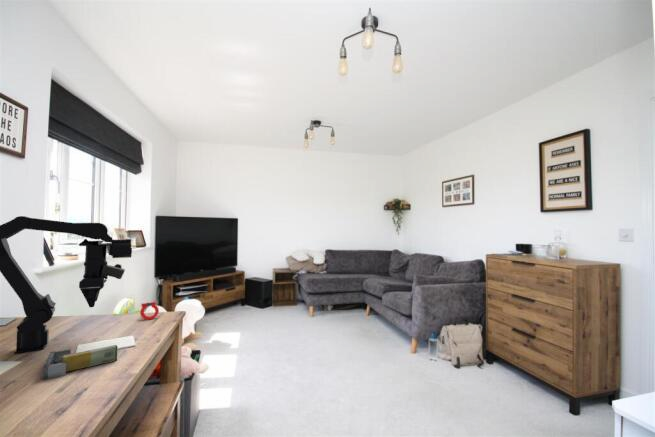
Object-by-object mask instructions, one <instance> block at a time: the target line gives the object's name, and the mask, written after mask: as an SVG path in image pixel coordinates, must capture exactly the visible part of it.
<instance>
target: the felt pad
mask: <svg viewBox="0 0 655 437" xmlns="http://www.w3.org/2000/svg"><path fill="white" fill-rule="evenodd" d="M113 345H117V347H118V348H117V350H123V349H127V348H132V347H136V341H135V336H134V335H128V336H123V337H116V338H111V339H105V340H100V341H93V342H88V343H81V344H78V345H77V348H76V351H75V353H78V352H83V351H88V350H93V349H98V348H103V347H108V346H113Z"/></svg>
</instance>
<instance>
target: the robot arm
mask: <svg viewBox="0 0 655 437" xmlns="http://www.w3.org/2000/svg"><path fill="white" fill-rule="evenodd" d="M23 230H33V231H42V232H52V233H53V232H54V233H61V234H62V233H63V234H72V235H76V236H79V237H83V238H84V239H83V240H82V242H80V243H78V246H79V247H85V254H84V255H85V258H84V262H83V266H84V271H83V279H81V280H80V281H79V282H78V288H79V290H80V292H81V293H82V295H83V297H84V299H85V301H86V303H87V305H88V307H89V308H94V307H95V304H96V302H97V301H98V298H99V295H100V291H101V290H102V289H103V288H104V287H105V283H106V282H107V280H108V278H109V277H111V278H115V279H118V280H121V279H122V277H123V275H124V273H125V271H126V269H125V268H122V264H119V263H116V264H115V265H109V264H108V261H107V248H108V256H111V257H112V259H123V258H124V259H127V258H132V256H133V255H132V252H133V248H132V238H123V239H113V237H112V236H110V235H109V234H108V227H107V226H106V225H105V224H104V223H101V222H75V223H74V222H69V221H67V222H66V221H60V220H59V221H58V220H52V219H51V220H50V219H43V218H35V217H28V216H22V215H19V216H16V217H15V218H13V219H11V220H9V221H7V222H5V223H3V224H0V273H1V275H2V276H3V277H4V280H6V281H7V283H8V284H9V285H10V287H11V288H12V289H13V291H14V293H15V294H16V295H17V296H18V298H19V300H20V301H21V303H22V308H23V311H24V314H25V317H24V318H23V319H22V320H21V321H20V322H19V324H18V325H17V326H16V342H15V344H16V345H15V346H16V347H15V350H14V352H13V353H14V354H20V353H27V352H32V351H38V350H43V349H45V348H46V346H47V345H48V344H49V341H50V340H49V339H50V329H49V328H48V325H47V324H46V323H48V322H49V321H50V320H51V319H52V318H53V315H54V313H55V312H56V308H55V307H56V306H55V305H56V304H57V303H56V302H54V301H53V300H52V297H51V296H50V294H49V293H47V294H46V295H42V294H40V293H39V292H38V290H37V289H36V287H35V286H34V285H33V284H32V282H31V281H30V279H29V278H28V276H27V274H25V271H23V269H22V268H21V266H20V265H19V264H18V262H17V261H16V259H15V258H14V256H13V255H12V252H11V248H10V244H9V242H8V239H9V238H12V237H14V236H15V235H17V234H19V233H20V232H22V231H23ZM87 238H88V239H92V240H88V239H87ZM99 240H101V241H103V242H105V243H99V242H100V241H99ZM107 246H108V247H107Z"/></svg>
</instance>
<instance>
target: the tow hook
mask: <svg viewBox="0 0 655 437" xmlns="http://www.w3.org/2000/svg"><path fill="white" fill-rule="evenodd" d="M156 304H157V302H156V301H152V302H151V301H149V302H143V303H141V306H140V307H141V309H140V312H139V314H140V316H141V318H142V319H144V320H147V321H149V320H154V319H155V318H157V316H158V314H159V312H160V311H159V310H160V309H159V307H158V305H156ZM149 307H151V308H152V309H154V311H155V312H154V314H153V315H151V316H147V315H146V314H145V312H146V311H147V309H148V308H149Z"/></svg>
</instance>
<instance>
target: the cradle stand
mask: <svg viewBox="0 0 655 437" xmlns="http://www.w3.org/2000/svg"><path fill="white" fill-rule="evenodd" d="M69 354H72V348H66V349H61V350H60V349H59V350H55V351H50V352H49V354H48V356H47V359H46V361H45V362H44V365H43V367H42V379H41V380H43V381H44V380H47V379H53V378H58V377H63V376H66V375H67V372H66V364H67V362H63V363H62V361H63V356H64V355H69Z"/></svg>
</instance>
